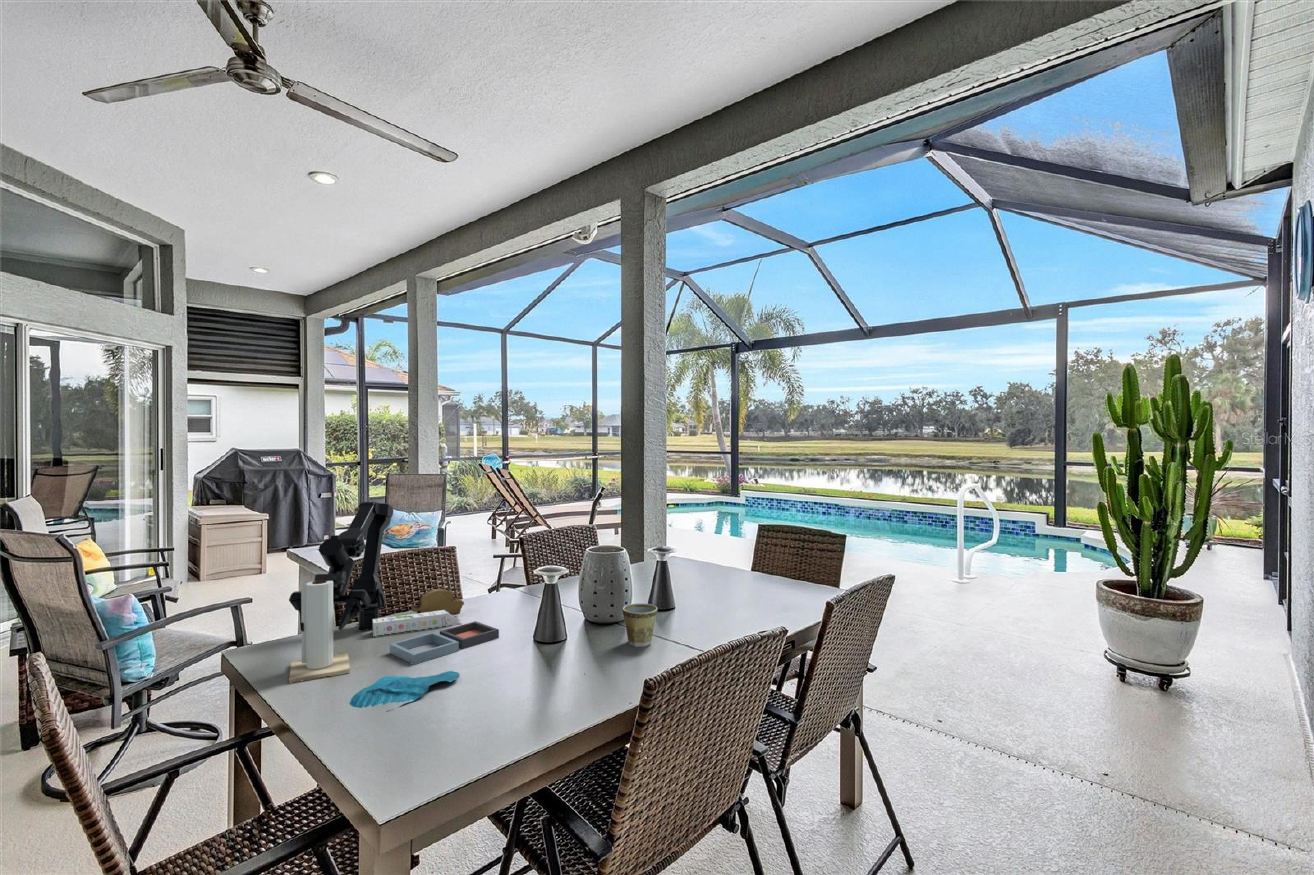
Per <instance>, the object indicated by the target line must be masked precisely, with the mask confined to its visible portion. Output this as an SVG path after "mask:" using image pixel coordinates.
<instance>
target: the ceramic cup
mask: <svg viewBox="0 0 1314 875" xmlns="http://www.w3.org/2000/svg"><path fill="white" fill-rule="evenodd" d="M657 614H658V607H657V606H656V605H654V604H652V603H645V602H644V603H642V602H638V603H631V604H630V603H629V604H626V605H625V606H623V607H622V615H623V620H624V625H625V630H626V636H627V641H628V644H629V645H630V646H631V647H637V648H639V647H640V648H645V647H647V646H650V645H651V644H652V640H653V634H654V627H655V623H656V620H657Z"/></svg>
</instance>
